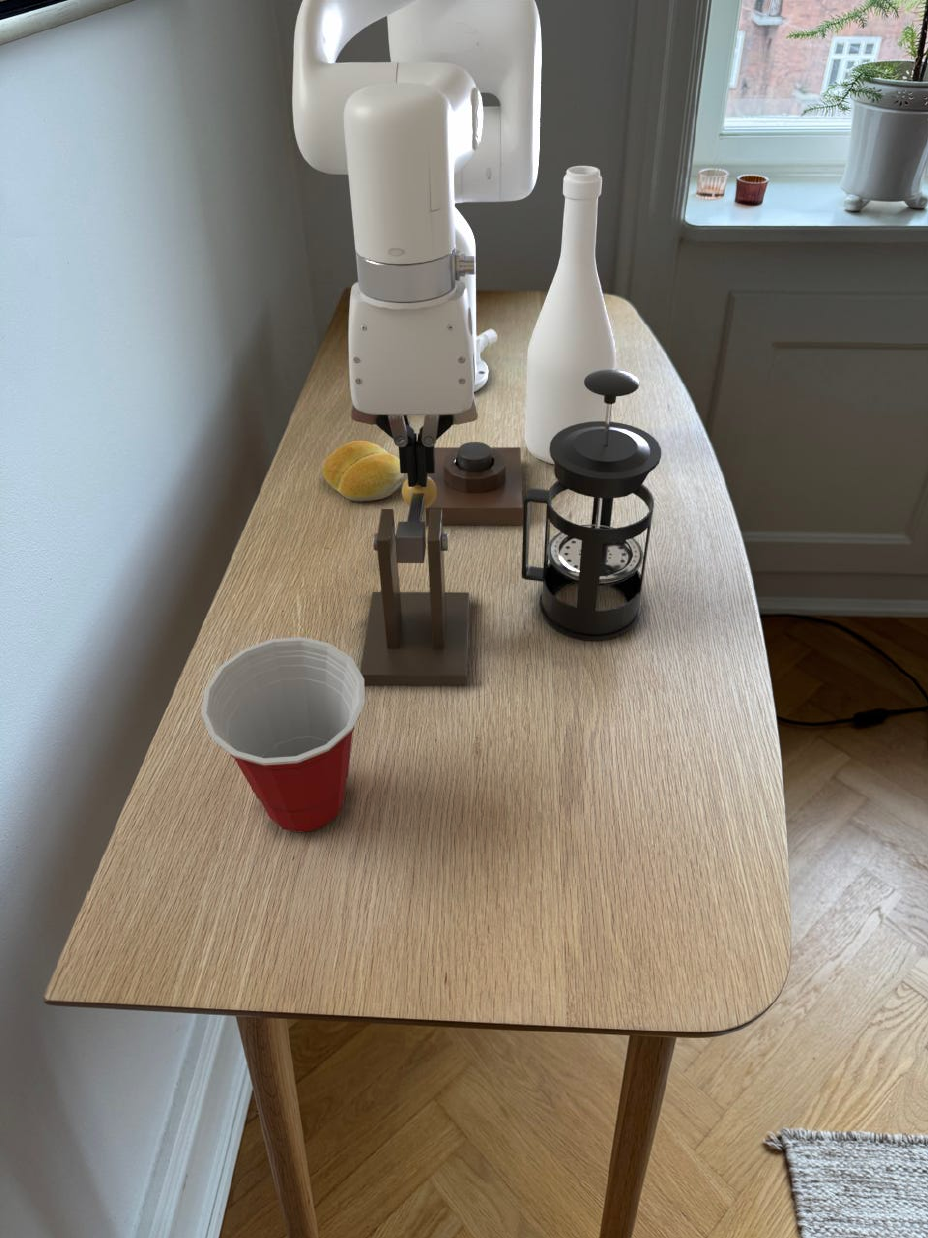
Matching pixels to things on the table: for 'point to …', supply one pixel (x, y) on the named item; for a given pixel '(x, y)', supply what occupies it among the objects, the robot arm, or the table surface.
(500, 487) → the button block
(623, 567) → the french press
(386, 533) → the bracket
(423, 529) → the grey lever with knob
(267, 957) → the table surface
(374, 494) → the bread roll
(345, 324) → the table surface
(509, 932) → the table surface
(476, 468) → the button
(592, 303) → the wine bottle
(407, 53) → the robot arm
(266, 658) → the plastic cup
